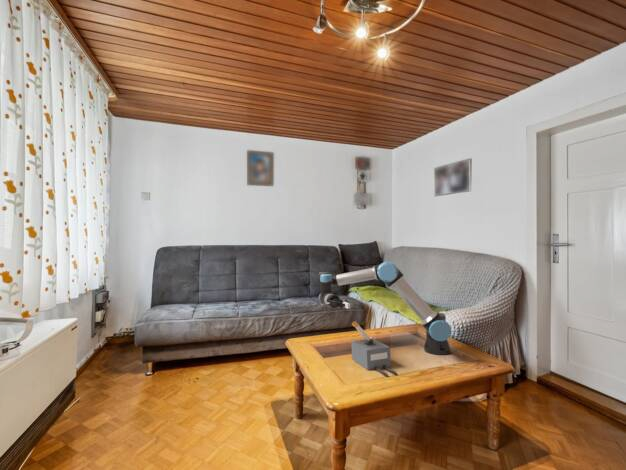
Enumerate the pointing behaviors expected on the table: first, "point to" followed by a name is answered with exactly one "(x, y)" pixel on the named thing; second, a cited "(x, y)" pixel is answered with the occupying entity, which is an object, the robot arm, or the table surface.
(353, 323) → the breaker lever
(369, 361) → the grey power plug
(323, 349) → the table surface
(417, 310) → the robot arm
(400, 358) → the table surface
